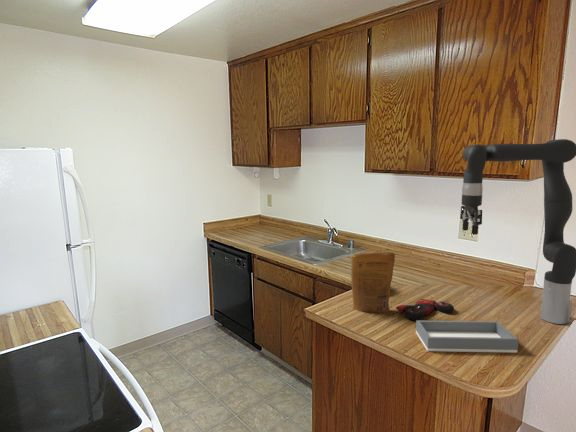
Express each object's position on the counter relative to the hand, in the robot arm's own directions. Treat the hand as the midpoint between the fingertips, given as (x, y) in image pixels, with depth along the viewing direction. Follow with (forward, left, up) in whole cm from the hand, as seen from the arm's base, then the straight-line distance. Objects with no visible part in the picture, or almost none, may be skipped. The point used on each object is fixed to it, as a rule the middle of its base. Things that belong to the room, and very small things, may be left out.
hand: (469, 232), depth 151 cm
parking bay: (+10, +23, -37) cm, 45 cm away
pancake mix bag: (+40, -2, -37) cm, 54 cm away
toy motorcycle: (+13, +4, -36) cm, 38 cm away
